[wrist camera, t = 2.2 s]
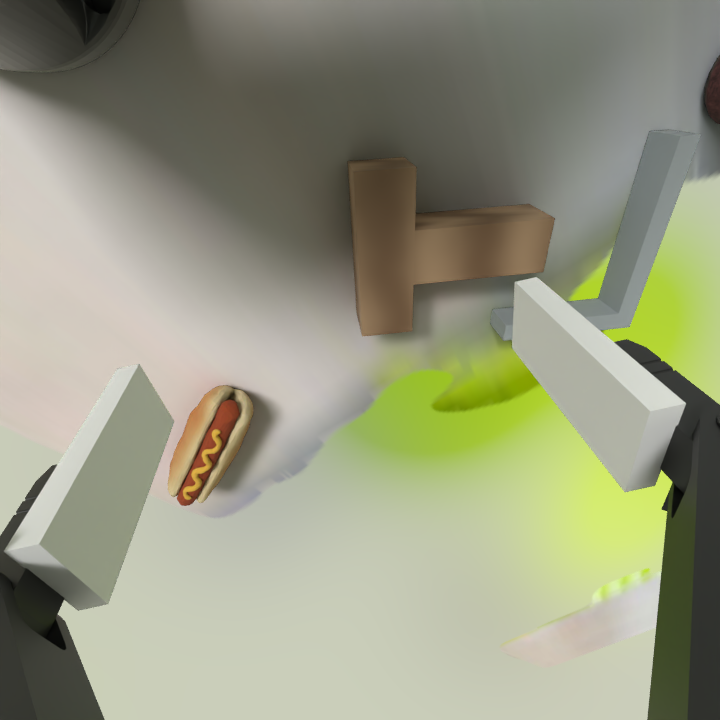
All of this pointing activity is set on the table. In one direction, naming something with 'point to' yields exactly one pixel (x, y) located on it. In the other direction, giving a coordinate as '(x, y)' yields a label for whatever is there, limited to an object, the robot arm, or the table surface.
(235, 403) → the food
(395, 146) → the table surface
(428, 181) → the table surface
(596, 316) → the bracket
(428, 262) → the t block
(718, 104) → the can
